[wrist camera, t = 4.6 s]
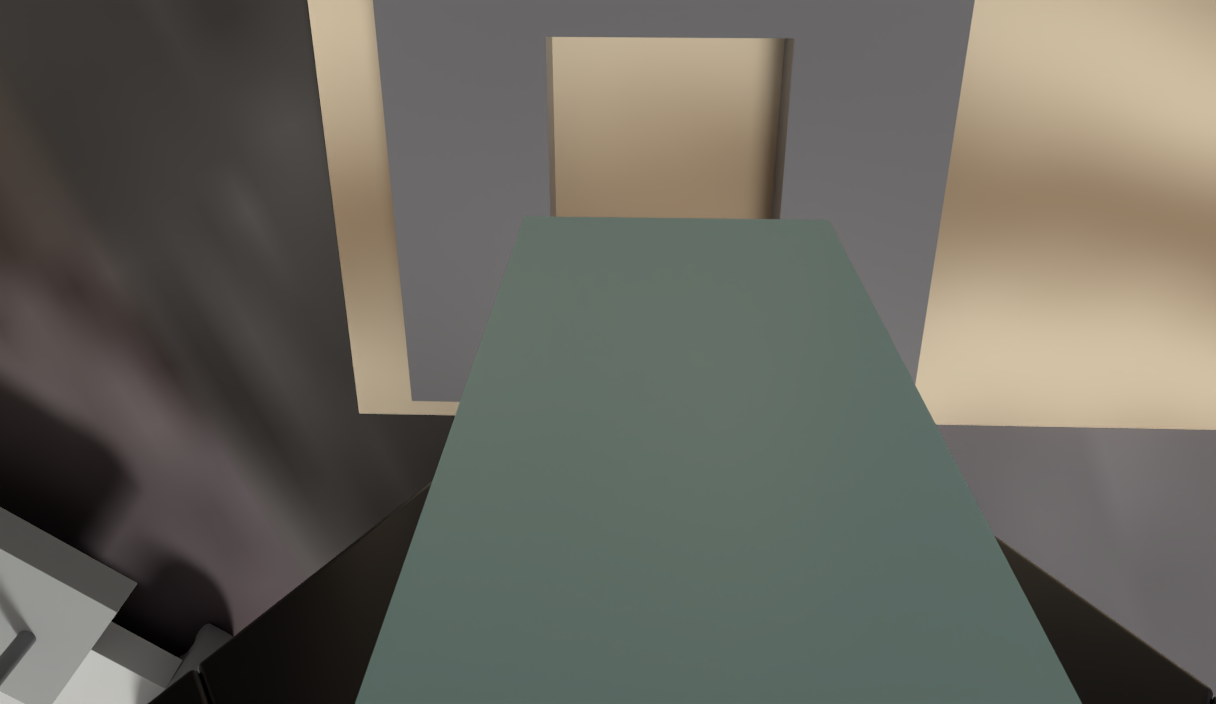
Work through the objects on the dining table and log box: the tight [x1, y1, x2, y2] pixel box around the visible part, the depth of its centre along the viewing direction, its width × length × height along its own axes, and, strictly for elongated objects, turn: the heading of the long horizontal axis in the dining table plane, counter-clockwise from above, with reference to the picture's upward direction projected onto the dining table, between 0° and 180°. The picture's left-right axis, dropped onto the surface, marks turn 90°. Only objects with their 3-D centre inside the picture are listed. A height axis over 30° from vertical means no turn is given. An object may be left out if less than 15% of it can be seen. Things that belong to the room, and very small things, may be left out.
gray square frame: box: [373, 0, 975, 402], centre depth 18 cm, size 9×10×1 cm
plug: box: [355, 216, 1082, 704], centre depth 8 cm, size 4×3×7 cm
